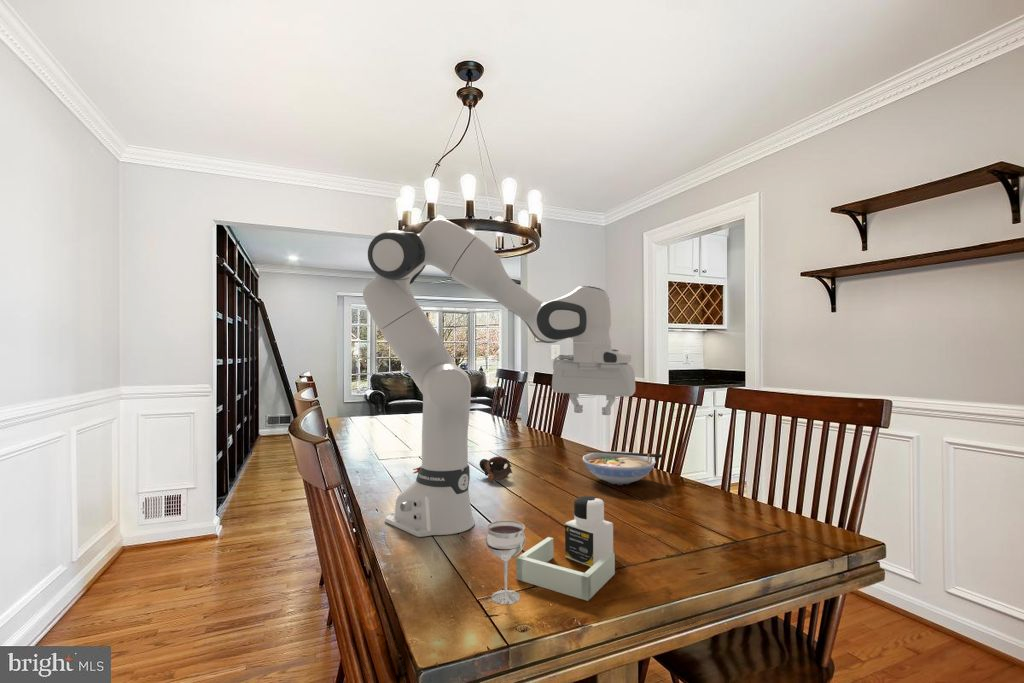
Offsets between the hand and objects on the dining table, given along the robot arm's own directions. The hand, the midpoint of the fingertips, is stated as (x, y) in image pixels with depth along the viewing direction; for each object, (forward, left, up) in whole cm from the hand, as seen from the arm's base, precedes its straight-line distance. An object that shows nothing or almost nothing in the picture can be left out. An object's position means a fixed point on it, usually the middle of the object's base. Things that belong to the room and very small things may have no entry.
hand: (592, 413), depth 118 cm
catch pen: (+6, -25, -27) cm, 38 cm away
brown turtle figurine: (-45, +24, -28) cm, 58 cm away
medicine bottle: (+6, -15, -27) cm, 32 cm away
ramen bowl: (-10, +42, -27) cm, 51 cm away
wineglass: (+1, -38, -27) cm, 46 cm away
